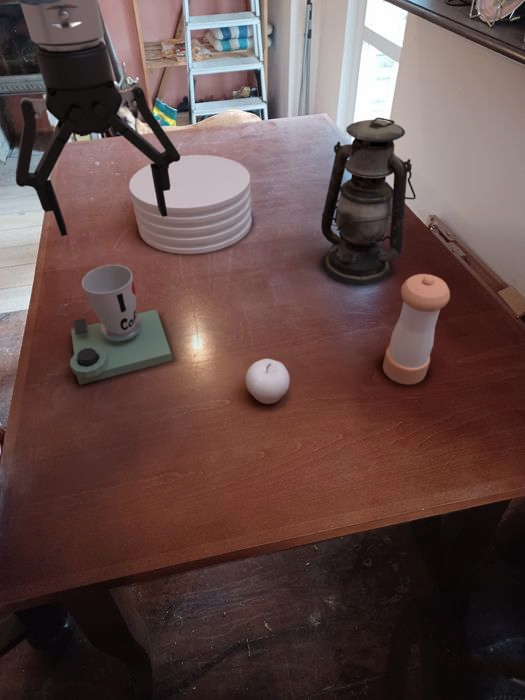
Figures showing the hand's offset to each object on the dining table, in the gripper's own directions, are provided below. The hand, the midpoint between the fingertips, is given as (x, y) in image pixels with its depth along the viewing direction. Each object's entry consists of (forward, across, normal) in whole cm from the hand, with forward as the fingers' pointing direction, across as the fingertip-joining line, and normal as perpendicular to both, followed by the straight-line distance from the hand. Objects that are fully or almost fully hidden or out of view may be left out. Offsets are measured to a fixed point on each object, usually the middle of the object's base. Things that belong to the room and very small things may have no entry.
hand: (114, 221), depth 66 cm
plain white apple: (+27, +17, -16) cm, 35 cm away
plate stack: (+27, +20, +43) cm, 55 cm away
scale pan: (+24, -5, +7) cm, 25 cm away
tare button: (+24, -10, 0) cm, 26 cm away
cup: (+23, -3, +6) cm, 24 cm away
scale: (+27, -4, +5) cm, 28 cm away
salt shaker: (+27, +41, -19) cm, 52 cm away
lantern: (+27, +50, +13) cm, 58 cm away
